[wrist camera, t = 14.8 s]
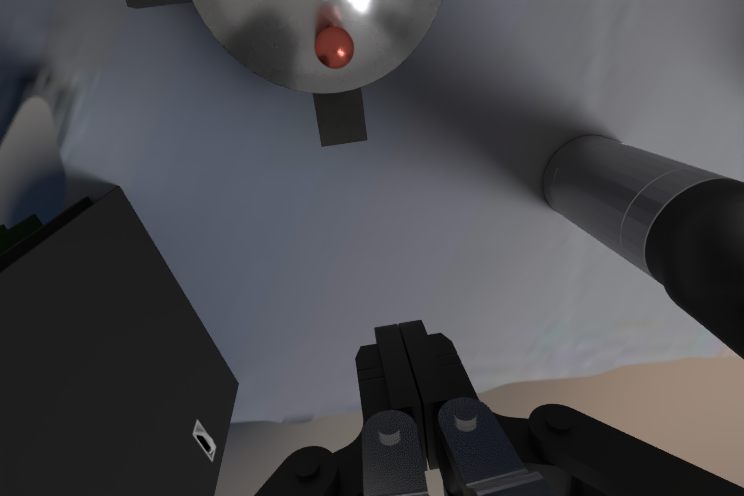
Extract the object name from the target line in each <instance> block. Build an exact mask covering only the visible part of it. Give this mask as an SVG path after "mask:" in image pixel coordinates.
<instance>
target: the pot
mask: <svg viewBox="0 0 744 496" xmlns="http://www.w3.org/2000/svg"><path fill="white" fill-rule="evenodd" d="M313 98H314V104H315V110H316V116H317V122H318V128H319V134H320V140H321V146H322V147H323V146H330V145H337V144H344V143H351V142H358V141H365V140H367V133H366V125H365V117H364V109H363V101H362V93H361V87H359V88H356V89H353V90H348V91H344V92H338V93H324V94H323V93H313Z"/></svg>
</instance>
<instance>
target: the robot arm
mask: <svg viewBox="0 0 744 496" xmlns="http://www.w3.org/2000/svg"><path fill="white" fill-rule="evenodd" d="M543 191H544V195H545V198H546V200H547V202H548V203H549V205H550V206H551V207H552V208H553V209H554V210H555V211H557V212H558V213H560V214H561V215H563V216H564V217H565V218H567V219H568V220H570V221H571V222H572V223H574V224H575V225H577V226H578V227H580V228H581V229H583V230H584V231H585V232H587V233H588V234H590V235H591V236H593V237H594V238H596V239H597V240H598V241H600V242H601V243H603V244H604V245H606V246H607V247H609V248H610V249H611V250H613V251H614V252H616V253H617V254H619V255H620V256H622V257H623V258H624V259H626V260H627V261H629V262H630V263H632V264H633V265H635V266H636V267H638V268H639V269H641V270H642V271H643V272H645V273H646V274H648V275H649V276H651V277H652V278H654V279H655V280H656V281H658V282H659V283H661V284H662V285H663V286H664V288H665V290H666V292H667V294H668V295H669V297H670V298H671V299H672V300H673V301H674V302H675V303H676V304H677V305H678V306H679V307H680V308H681V309H683V310H684V311H685V312H686V313H688V314H689V315H690V316H691V317H693V318H694V319H695V320H696V321H698V322H699V323H700V324H701V325H703V326H704V327H705V328H706V329H708V330H709V331H710V332H711V333H712V334H714V335H715V336H716V337H717V338H718V339H720V340H721V341H722V342H723V343H724V344H726V345H727V346H728V347H729V348H730V349H732V350H733V351H734V352H735V353H736V354H738V355H739V356H740V357H741V358H743V359H744V182H741V181H738V180H734V179H731V178H728V177H725V176H722V175H719V174H716V173H713V172H710V171H707V170H703V169H700V168H697V167H694V166H691V165H688V164H685V163H682V162H679V161H676V160H672V159H669V158H666V157H663V156H660V155H657V154H654V153H651V152H648V151H645V150H642V149H639V148H635V147H632V146H629V145H626V144H623V143H620V142H617V141H614V140H611V139H608V138H604V137H601V136H596V135H588V136H582V137H579V138H576V139H573V140H572V141H570V142H568V143H566V144H565V145H564V146H563V147H561V148H560V149H559V150H558V151H557V152H556V153H555V155H554V156H553V157H552V158H551V160H550V162H549V164H548V165H547V168H546V171H545V174H544V179H543ZM398 327H399V328H398ZM374 329H375V337H376V344H372V345H366V346H361V347H360V349H359V351H358V353H357V356H356V358H355V360H356V367H357V375H358V382H359V390H360V398H361V405H362V413H363V427H362V430H361V432H360V434H359V436H358V437H357V438H356V439H355V440H354V441H353V442H352V443H351V444H349V445H348V446H346V447H344V448H342V449H340V450H338V451H337V452H334V453H331V452H330V451H329V450H328V449H326V448H323V447H319V446H309V447H304V448H301V449H299V450H297V451H295V452H293V453H292V454H291V455H290V456H288V457H287V458H286V459H285V460H284V462H283V463H282V464H281V465H280V466H279V467H278V469H277V470H276V471H275V472H274V473H273V474H272V476H271V477H270V478H269V479H268V480H267V481H266V483H265V484H264V485H263V486H262V487H261V488H260V489H259V491H258V492H257V493H256V494H255V495H254V496H429V494H428V489H427V483H426V477H425V471H427V461H428V465H429V468H430V470H433V469H438V468H439V469H440V472H441V476H442V479H443V490H444V496H744V488H743V487H741V486H738V485H736V484H734V483H732V482H729V481H728V480H725V479H723V478H721V477H719V476H717V475H715V474H713V473H710V472H708V471H706V470H704V469H702V468H699V467H697V466H695V465H693V464H691V463H689V462H686V461H684V460H682V459H680V458H678V457H676V456H674V455H671V454H669V453H667V452H665V451H663V450H661V449H659V448H657V447H654V446H652V445H650V444H648V443H646V442H643V441H641V440H639V439H637V438H635V437H633V436H631V435H629V434H626V433H624V432H622V431H620V430H618V429H616V428H613V427H611V426H609V425H607V424H605V423H603V422H601V421H598V420H596V419H594V418H592V417H590V416H587V415H585V414H583V413H581V412H579V411H577V410H575V409H573V408H570V407H568V406H564V405H559V404H546V405H542V406H539V407H537V408H536V409H534V410H533V411H532V413H531V414H530V417H529V419H525V418H513V417H506V416H502V415H499V414H496V413H494V412H492V411H491V409H490V408H489V407H488V406H487V405H486V404H484V403H483V402H481V401H480V400H479V399H478V397H477V395H476V392H475V390H474V388H473V386H472V384H471V382H470V379H469V377H468V375H467V373H466V371H465V369H464V367H463V364H462V363H461V360H460V358H459V356H458V355H457V351H456V349H455V347H454V345H453V343H452V341H451V340H449V339H448V338H447V337H446V336H444V335H443V334H442V333H436V334H430V335H427V332H426V330H425V327H424V325H423V322H422V320H417V321H411V322H405V323H399V324H398V325H397V324H393V325H387V326H381V327H375V328H374ZM426 457H427V460H426Z"/></svg>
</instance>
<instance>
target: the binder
mask: <svg viewBox="0 0 744 496" xmlns="http://www.w3.org/2000/svg"><path fill="white" fill-rule="evenodd" d="M238 385H239V383H238V382H237V380H236V378H235V377H234V375H233V373H232V372H231V370H230V368H229V367H228V365H227V363H226V362H225V360H224V358H223V357H222V355H221V353H220V352H219V350H218V348H217V347H216V345H215V343H214V342H213V340H212V338H211V337H210V335H209V333H208V332H207V330H206V328H205V327H204V325H203V324H202V322H201V320H200V319H199V317H198V315H197V314H196V312H195V310H194V309H193V307H192V305H191V304H190V302H189V300H188V299H187V297H186V295H185V294H184V292H183V290H182V289H181V287H180V285H179V284H178V282H177V280H176V279H175V277H174V275H173V274H172V272H171V270H170V269H169V267H168V265H167V264H166V262H165V260H164V259H163V257H162V255H161V254H160V252H159V250H158V249H157V247H156V246H155V244H154V242H153V241H152V239H151V237H150V236H149V234H148V232H147V231H146V229H145V227H144V226H143V224H142V222H141V221H140V219H139V217H138V216H137V214H136V212H135V211H134V209H133V207H132V206H131V204H130V202H129V201H128V199H127V197H126V196H125V194H124V192H123V191H122V189H121V187H120V186H118V187H116V188H115V189H113V190H112V191H111V192H109V193H108V194H107V195H105V196H104V197H102V198H101V199H100V200H98V201H97V202H96V203H94V204H92V202H91V201H90V199H89V197H85V198H83V199H82V200H80V201H79V202H77V203H76V204H74V205H73V206H71V207H70V208H69V209H67V210H66V211H64V212H63V213H61V214H60V215H58V216H57V217H55V218H54V219H52V220H51V221H49V222H48V223H46V224H45V225H43V224H42V223H41V222H40V220H39V219H38V217H37V216H36V214H34V215H31V216H30V217H28V218H27V219H25V220H23V221H22V222H20V223H18V224H17V225H15V226H13V227H12V228H10V229H8V230H7V229H6V227H5V225H1V226H0V496H214V494H215V489H216V485H217V480H218V476H219V471H220V466H221V462H222V457H223V453H224V448H225V444H226V439H227V434H228V430H229V426H230V421H231V417H232V412H233V407H234V403H235V398H236V394H237V389H238Z"/></svg>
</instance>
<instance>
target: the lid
mask: <svg viewBox="0 0 744 496" xmlns="http://www.w3.org/2000/svg"><path fill="white" fill-rule="evenodd" d="M187 2H193V3H194V5H195V7H196V9H197V11H198V12H199V14H200V16H201V17H202V19H203V21H204V23H205V24H206V26H207V27H208V28H209V30H210V31H211V32H212V34H213V35H214V36H215V38H216V39H217V40H218V41H219V42H220V44H221V45H222V46H223V47H224V48H225V49H226V50H227V51H228V52H229V53H230V54H231V55H232V56H233V57H234V58H236V59H237V60H238V61H239V62H240V63H241V64H243V65H244V66H245V67H247V68H248V69H250V70H251V71H253V72H254V73H256V74H257V75H259V76H261V77H263V78H265V79H267V80H269V81H271V82H273V83H275V84H277V85H280V86H283V87H286V88H289V89H293V90H298V91H302V92H308V93H323V94H324V93H338V92H344V91H348V90H353V89H356V88H359V87H362V86H365V85H368V84H370V83H372V82H374V81H376V80H378V79H380V78H382V77H384V76H385V75H386V74H388V73H389V72H391V71H392V70H394V69H395V68H396V67H398V66H399V65H400V64H401V63H402V62H403V61H404V60H405V59H406V58H407V57H408V56H410V54H411V53H412V52H413V51H414V50H415V48H416V47H417V46H418V45H419V44H420V42H421V41H422V39H423V38H424V36H425V35H426V33H427V32H428V30H429V29H430V27H431V25H432V23H433V21H434V19H435V17H436V15H437V13H438V11H439V8H440V5H441V2H442V0H126V3H127V6H128V7H131V8H136V9H138V8H146V7H154V6H162V5H170V4H178V3H187Z"/></svg>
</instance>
